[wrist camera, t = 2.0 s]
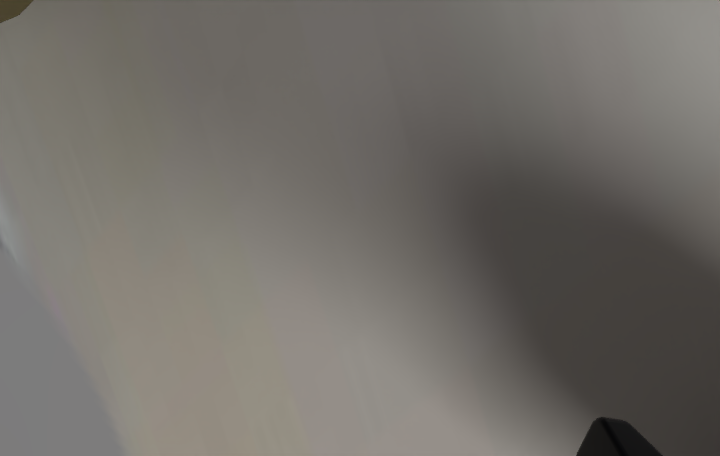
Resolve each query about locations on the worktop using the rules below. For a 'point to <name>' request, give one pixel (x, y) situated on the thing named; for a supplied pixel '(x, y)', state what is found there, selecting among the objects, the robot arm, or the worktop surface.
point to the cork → (12, 8)
